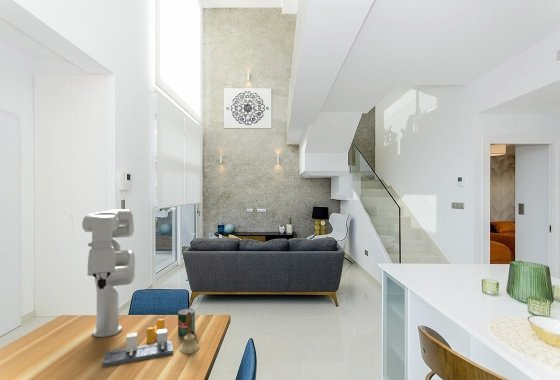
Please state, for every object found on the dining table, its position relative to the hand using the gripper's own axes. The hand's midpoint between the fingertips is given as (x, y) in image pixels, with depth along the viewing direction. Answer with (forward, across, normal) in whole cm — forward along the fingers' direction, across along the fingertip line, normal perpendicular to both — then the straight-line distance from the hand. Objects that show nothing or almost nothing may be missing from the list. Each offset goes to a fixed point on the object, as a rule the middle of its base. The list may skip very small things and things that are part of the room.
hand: (101, 288), depth 135 cm
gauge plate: (+27, +15, -8) cm, 32 cm away
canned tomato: (+27, +35, +4) cm, 45 cm away
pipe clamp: (+28, +21, +7) cm, 35 cm away
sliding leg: (+25, +12, -9) cm, 29 cm away
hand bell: (+27, +35, -12) cm, 46 cm away
